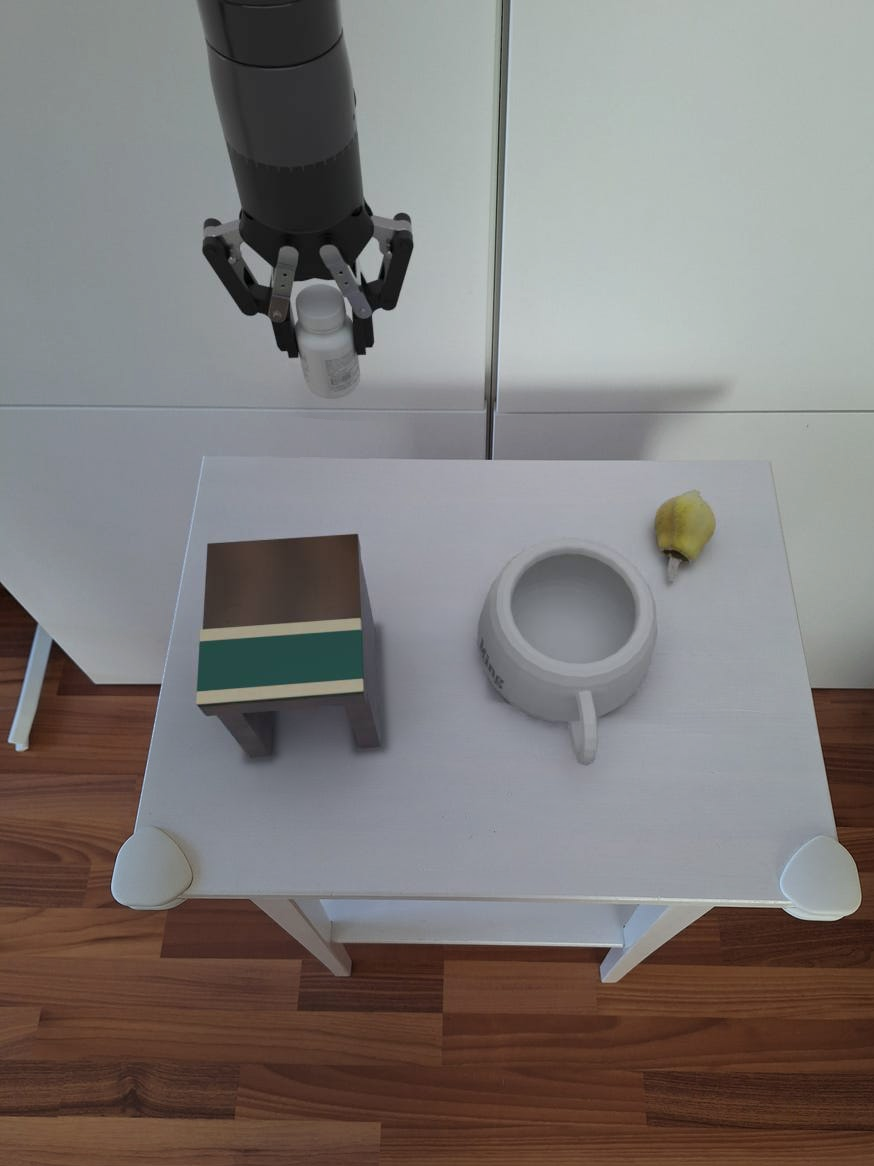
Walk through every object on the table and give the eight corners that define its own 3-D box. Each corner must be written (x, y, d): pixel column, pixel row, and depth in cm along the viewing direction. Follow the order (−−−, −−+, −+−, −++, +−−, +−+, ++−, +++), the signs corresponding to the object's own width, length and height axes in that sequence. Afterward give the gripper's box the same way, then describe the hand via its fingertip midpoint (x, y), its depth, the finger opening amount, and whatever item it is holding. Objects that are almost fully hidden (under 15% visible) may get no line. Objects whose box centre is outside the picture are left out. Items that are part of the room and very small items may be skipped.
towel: (198, 707, 57) (195, 704, 57) (202, 633, 60) (199, 629, 59) (364, 694, 58) (363, 690, 58) (361, 621, 61) (360, 617, 60)
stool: (249, 768, 72) (198, 707, 57) (252, 630, 78) (207, 543, 63) (381, 757, 73) (364, 694, 58) (375, 621, 79) (357, 533, 64)
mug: (469, 581, 81) (471, 527, 72) (629, 571, 82) (652, 516, 73) (489, 786, 72) (494, 754, 63) (669, 772, 73) (699, 738, 64)
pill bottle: (369, 367, 64) (360, 287, 57) (347, 407, 62) (336, 329, 55) (318, 352, 64) (303, 271, 57) (295, 391, 62) (277, 313, 55)
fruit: (638, 581, 82) (649, 495, 85) (689, 596, 83) (698, 511, 86) (667, 563, 76) (678, 472, 79) (721, 579, 78) (730, 489, 81)
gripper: (154, 165, 42) (230, 391, 58) (420, 158, 44) (425, 381, 59) (162, 80, 46) (233, 316, 61) (411, 76, 47) (418, 308, 62)
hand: (327, 347), depth 60 cm, fingers closed on pill bottle, 4 cm apart
